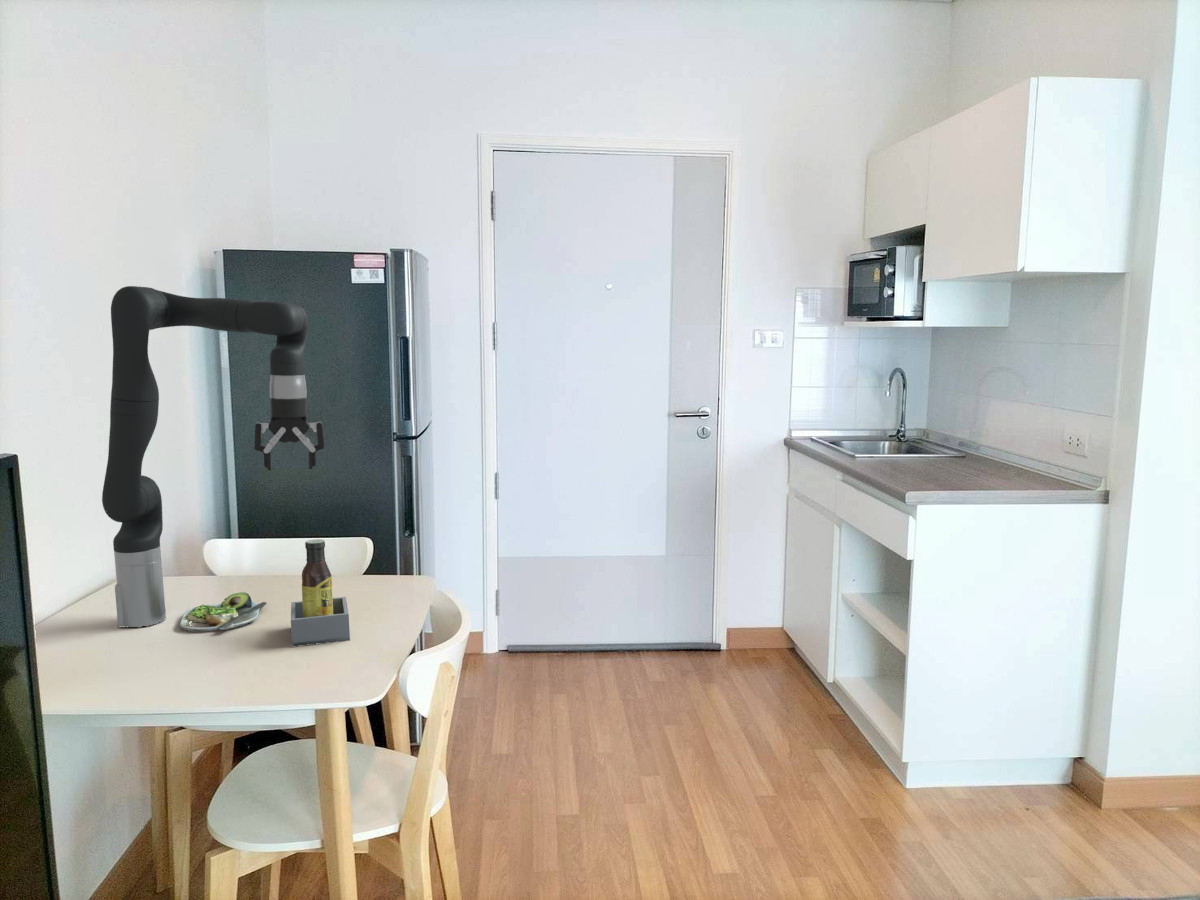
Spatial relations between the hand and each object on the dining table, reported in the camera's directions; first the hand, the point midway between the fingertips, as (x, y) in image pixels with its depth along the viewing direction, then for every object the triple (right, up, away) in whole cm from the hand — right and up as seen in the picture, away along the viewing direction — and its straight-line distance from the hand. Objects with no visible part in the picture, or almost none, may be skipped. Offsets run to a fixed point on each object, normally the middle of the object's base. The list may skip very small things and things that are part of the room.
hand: (290, 469), depth 189 cm
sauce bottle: (+7, -35, -2) cm, 36 cm away
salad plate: (-18, -35, +9) cm, 41 cm away
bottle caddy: (+7, -36, -2) cm, 37 cm away
